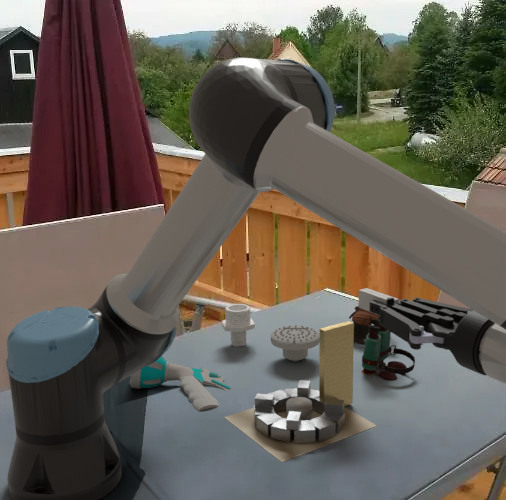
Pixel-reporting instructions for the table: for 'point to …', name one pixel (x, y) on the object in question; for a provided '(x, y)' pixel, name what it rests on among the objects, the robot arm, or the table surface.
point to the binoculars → (382, 354)
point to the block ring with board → (314, 393)
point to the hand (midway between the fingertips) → (362, 297)
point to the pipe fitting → (238, 323)
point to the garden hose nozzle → (188, 377)
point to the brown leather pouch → (362, 323)
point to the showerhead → (295, 341)
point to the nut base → (292, 450)
